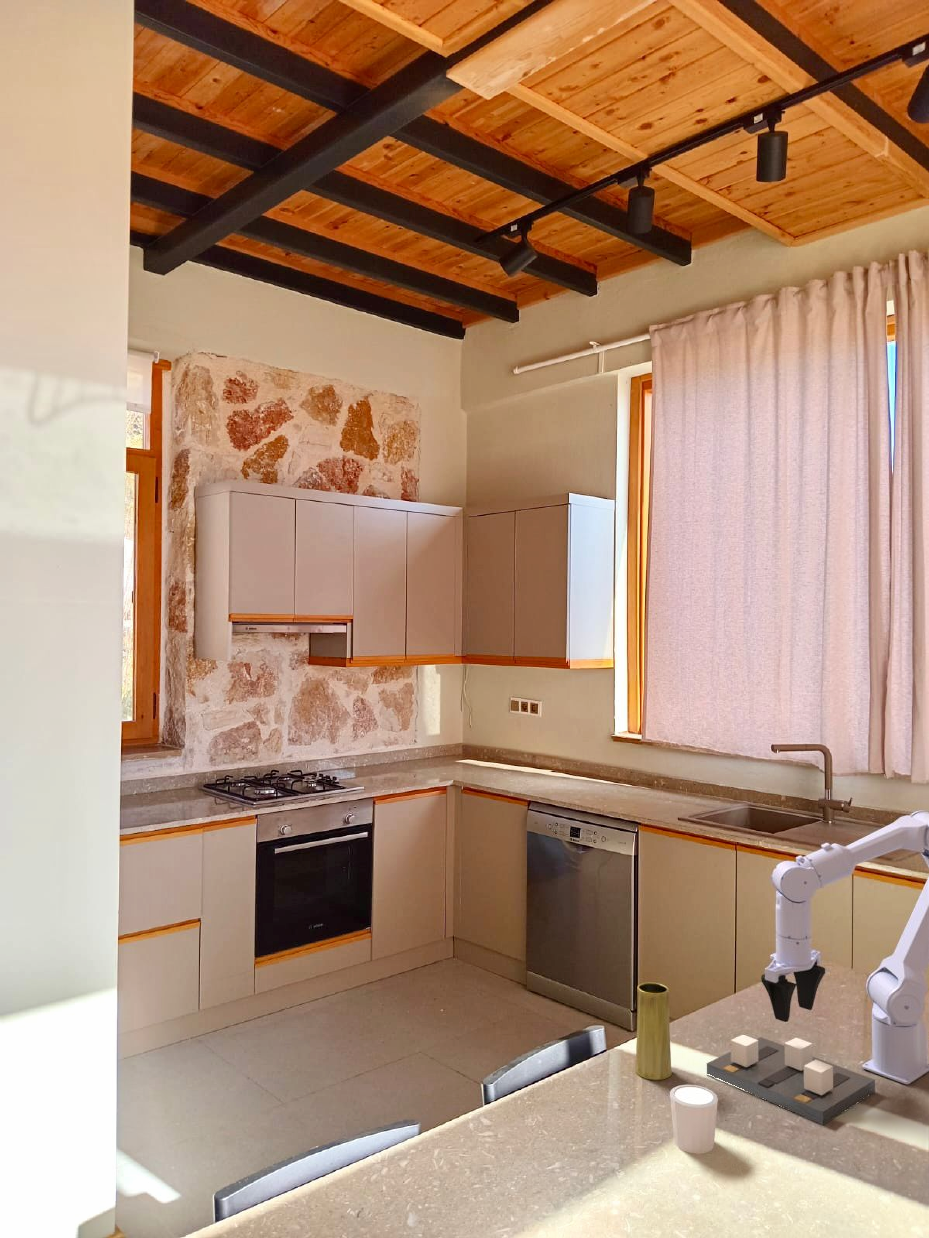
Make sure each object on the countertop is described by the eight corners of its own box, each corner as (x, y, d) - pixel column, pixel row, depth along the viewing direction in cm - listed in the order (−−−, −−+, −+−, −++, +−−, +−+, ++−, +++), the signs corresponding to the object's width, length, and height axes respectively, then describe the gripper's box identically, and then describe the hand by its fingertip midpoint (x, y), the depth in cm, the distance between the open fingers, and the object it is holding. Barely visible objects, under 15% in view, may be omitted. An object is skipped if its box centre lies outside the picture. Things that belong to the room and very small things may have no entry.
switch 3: (815, 1081, 152) (815, 1059, 152) (833, 1088, 150) (832, 1065, 150) (803, 1088, 150) (803, 1065, 150) (821, 1095, 147) (821, 1072, 147)
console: (760, 1048, 169) (760, 1035, 169) (874, 1091, 153) (874, 1078, 153) (706, 1075, 159) (706, 1061, 159) (822, 1125, 143) (822, 1110, 143)
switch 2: (796, 1058, 160) (796, 1037, 160) (812, 1064, 158) (812, 1043, 158) (784, 1064, 158) (784, 1043, 158) (801, 1070, 156) (800, 1049, 156)
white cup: (719, 1135, 140) (719, 1087, 140) (716, 1159, 134) (716, 1109, 134) (672, 1127, 142) (672, 1080, 143) (667, 1150, 136) (666, 1102, 136)
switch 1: (742, 1054, 161) (742, 1034, 162) (758, 1060, 159) (758, 1040, 159) (730, 1060, 159) (730, 1039, 159) (746, 1067, 157) (746, 1045, 157)
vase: (672, 1082, 157) (671, 995, 157) (634, 1078, 158) (634, 993, 158) (671, 1065, 163) (671, 982, 163) (635, 1062, 164) (635, 979, 164)
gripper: (794, 920, 169) (795, 996, 169) (748, 937, 160) (749, 1017, 160) (831, 929, 164) (832, 1008, 164) (786, 947, 155) (787, 1031, 154)
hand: (793, 1013), depth 161 cm, fingers open, 7 cm apart
